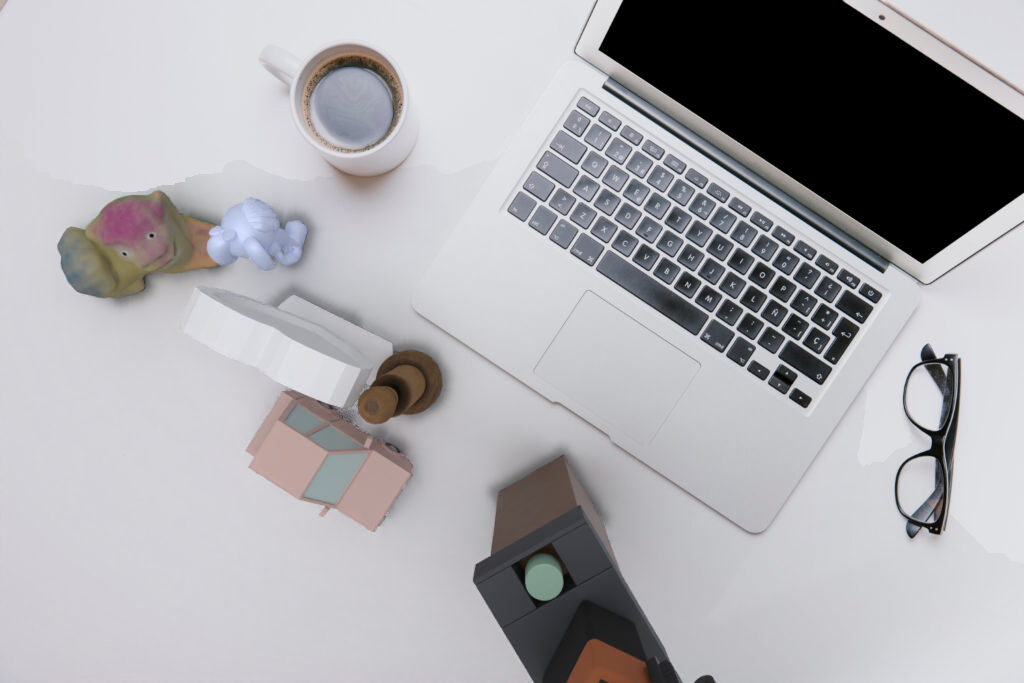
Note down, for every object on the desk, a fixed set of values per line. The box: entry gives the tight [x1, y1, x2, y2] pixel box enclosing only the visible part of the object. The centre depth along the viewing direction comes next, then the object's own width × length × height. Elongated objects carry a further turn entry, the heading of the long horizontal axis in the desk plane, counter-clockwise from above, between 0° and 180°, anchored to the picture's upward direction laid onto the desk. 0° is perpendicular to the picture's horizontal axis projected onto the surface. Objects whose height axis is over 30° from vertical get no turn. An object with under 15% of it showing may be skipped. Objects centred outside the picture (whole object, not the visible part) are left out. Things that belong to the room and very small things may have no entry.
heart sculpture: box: [177, 285, 394, 409], centre depth 61 cm, size 16×5×18 cm, turn 64°
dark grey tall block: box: [472, 454, 671, 683], centre depth 59 cm, size 13×9×24 cm
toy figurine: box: [207, 196, 308, 272], centre depth 64 cm, size 7×6×12 cm
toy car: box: [245, 389, 414, 533], centre depth 66 cm, size 9×15×10 cm, turn 57°
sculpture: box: [56, 189, 220, 299], centre depth 65 cm, size 15×8×10 cm, turn 114°
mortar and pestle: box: [356, 349, 443, 425], centre depth 61 cm, size 7×6×18 cm
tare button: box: [525, 553, 563, 601], centre depth 47 cm, size 3×3×2 cm
